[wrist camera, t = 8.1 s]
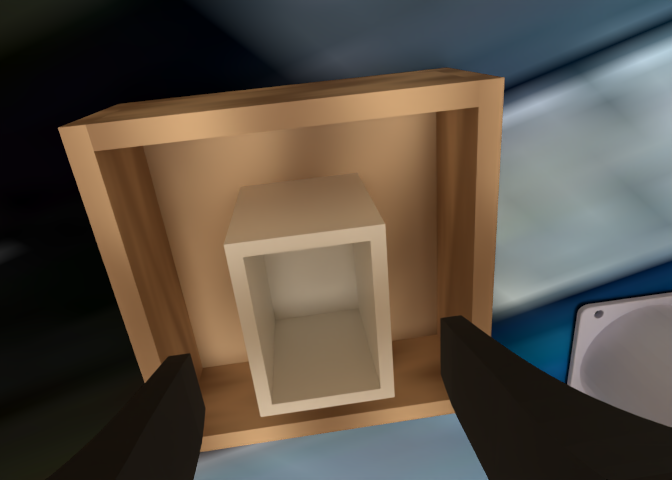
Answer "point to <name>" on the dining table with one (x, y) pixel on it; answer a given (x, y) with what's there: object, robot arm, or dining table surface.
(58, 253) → the dining table surface
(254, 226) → the small crate
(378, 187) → the big crate
